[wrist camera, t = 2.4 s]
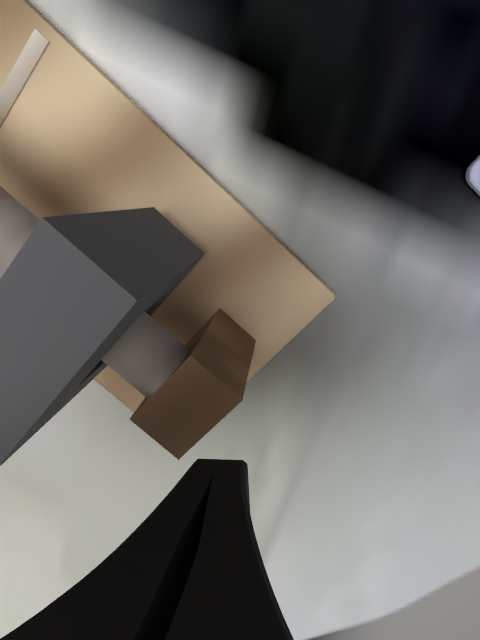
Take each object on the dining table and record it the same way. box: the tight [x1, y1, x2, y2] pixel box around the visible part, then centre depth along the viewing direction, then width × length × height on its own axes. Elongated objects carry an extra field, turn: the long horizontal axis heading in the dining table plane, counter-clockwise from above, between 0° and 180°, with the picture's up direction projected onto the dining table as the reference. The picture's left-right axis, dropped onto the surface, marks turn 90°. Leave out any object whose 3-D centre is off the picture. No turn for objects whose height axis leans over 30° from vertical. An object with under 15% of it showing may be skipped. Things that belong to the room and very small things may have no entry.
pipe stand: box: [0, 0, 336, 460], centre depth 14 cm, size 20×10×6 cm, turn 48°
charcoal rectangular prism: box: [0, 207, 205, 466], centre depth 12 cm, size 2×6×7 cm, turn 138°
